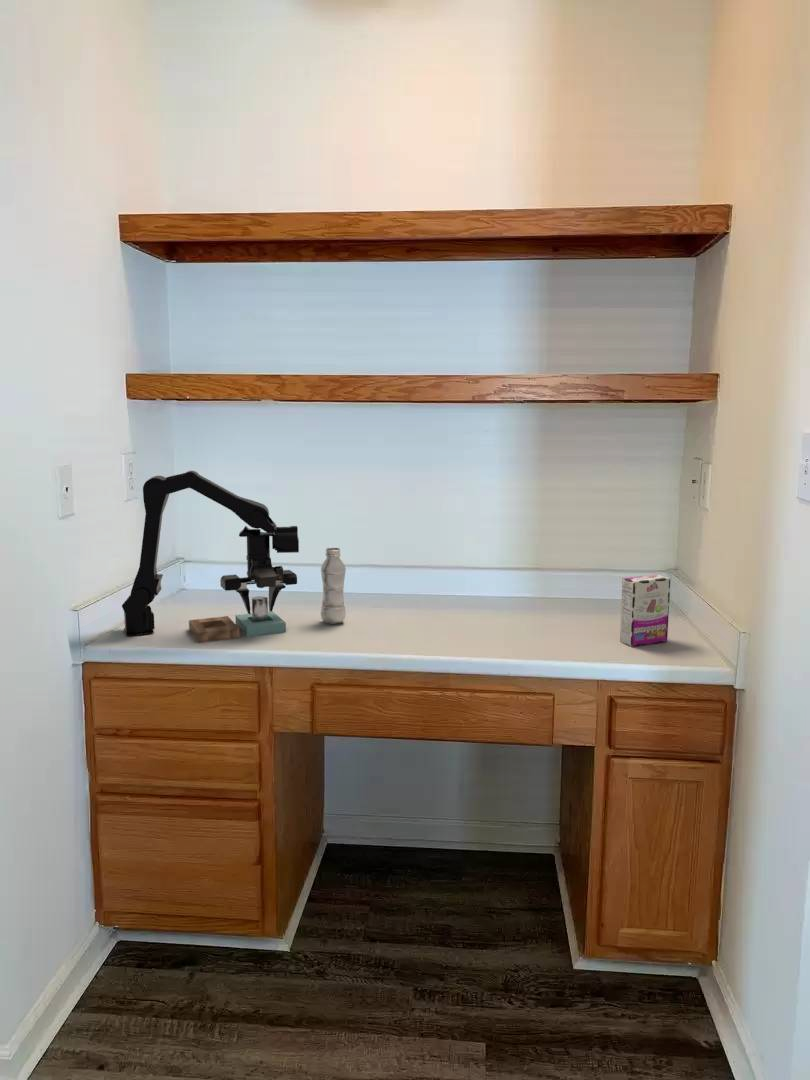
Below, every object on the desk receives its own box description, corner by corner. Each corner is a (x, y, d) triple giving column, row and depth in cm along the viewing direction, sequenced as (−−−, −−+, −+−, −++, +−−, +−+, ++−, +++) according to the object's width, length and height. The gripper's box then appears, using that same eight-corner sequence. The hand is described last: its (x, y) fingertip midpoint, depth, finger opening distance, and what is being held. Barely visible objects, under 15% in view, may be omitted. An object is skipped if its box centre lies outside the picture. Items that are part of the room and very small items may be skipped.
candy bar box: (654, 636, 199) (658, 573, 196) (667, 642, 195) (672, 577, 192) (617, 641, 195) (621, 577, 192) (630, 647, 191) (634, 581, 188)
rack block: (247, 636, 196) (247, 627, 196) (235, 624, 207) (235, 615, 207) (285, 632, 201) (285, 622, 200) (272, 620, 211) (272, 611, 211)
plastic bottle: (329, 618, 214) (328, 545, 210) (350, 621, 211) (350, 548, 207) (315, 624, 208) (315, 549, 205) (337, 627, 205) (337, 552, 201)
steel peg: (254, 631, 201) (254, 600, 200) (250, 627, 205) (250, 597, 203) (269, 629, 203) (269, 599, 202) (265, 625, 206) (265, 595, 205)
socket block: (198, 642, 191) (198, 632, 191) (189, 629, 202) (188, 620, 201) (239, 637, 196) (239, 628, 195) (228, 625, 206) (227, 616, 206)
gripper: (229, 562, 189) (231, 624, 192) (303, 556, 197) (304, 616, 200) (219, 553, 199) (221, 613, 202) (290, 548, 207) (291, 605, 210)
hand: (259, 612), depth 203 cm, fingers open, 5 cm apart
